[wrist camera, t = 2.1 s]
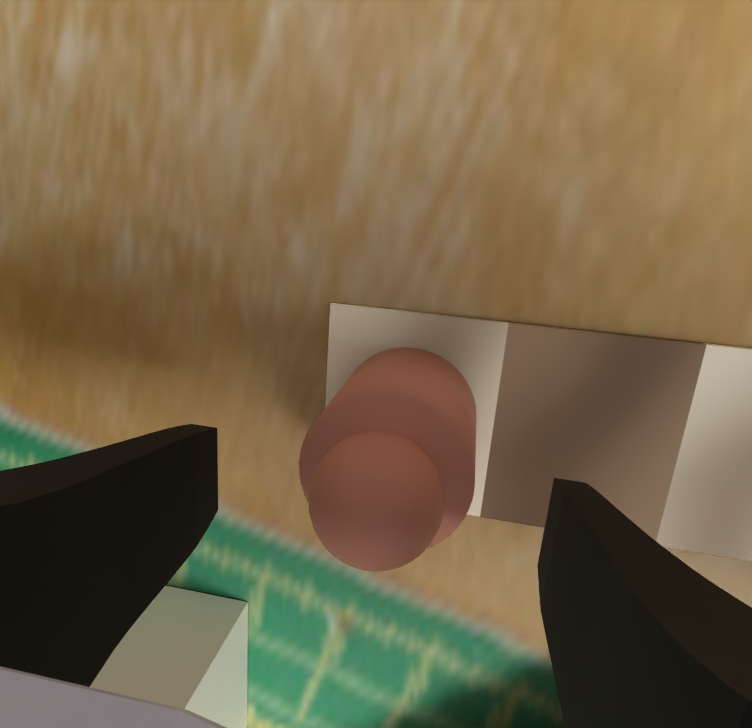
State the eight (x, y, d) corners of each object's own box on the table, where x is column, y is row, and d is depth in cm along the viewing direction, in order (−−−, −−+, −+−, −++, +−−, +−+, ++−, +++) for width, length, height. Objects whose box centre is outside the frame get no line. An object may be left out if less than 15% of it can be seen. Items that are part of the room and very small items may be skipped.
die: (248, 602, 19) (147, 771, 13) (246, 731, 21) (157, 930, 15) (95, 571, 20) (-61, 717, 14) (106, 697, 22) (-29, 873, 16)
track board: (1166, 393, 13) (1176, 395, 12) (1055, 607, 14) (1063, 612, 14) (332, 302, 16) (330, 303, 16) (322, 487, 17) (320, 490, 17)
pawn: (485, 356, 15) (488, 454, 9) (467, 484, 16) (459, 647, 10) (345, 339, 16) (260, 421, 10) (337, 464, 17) (257, 607, 11)
